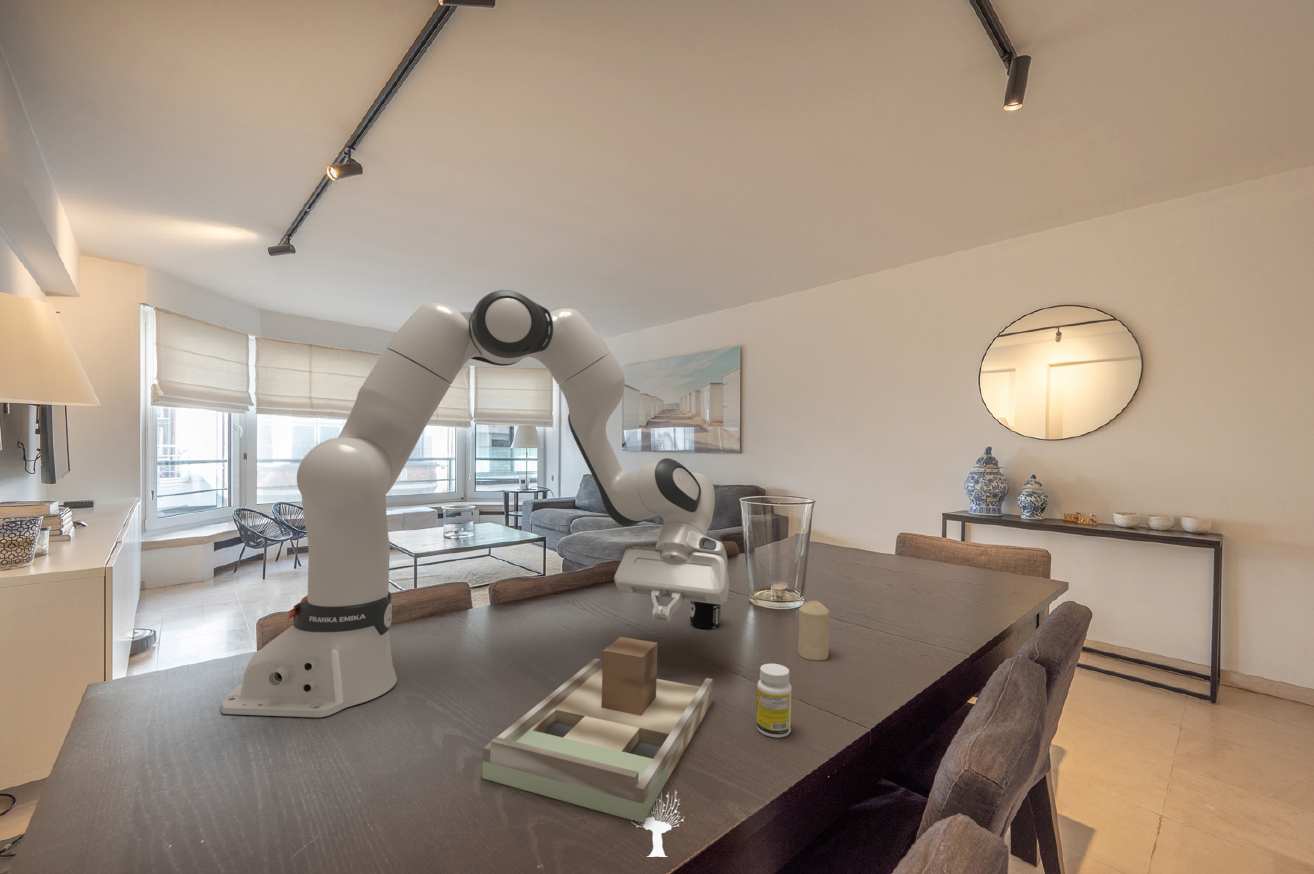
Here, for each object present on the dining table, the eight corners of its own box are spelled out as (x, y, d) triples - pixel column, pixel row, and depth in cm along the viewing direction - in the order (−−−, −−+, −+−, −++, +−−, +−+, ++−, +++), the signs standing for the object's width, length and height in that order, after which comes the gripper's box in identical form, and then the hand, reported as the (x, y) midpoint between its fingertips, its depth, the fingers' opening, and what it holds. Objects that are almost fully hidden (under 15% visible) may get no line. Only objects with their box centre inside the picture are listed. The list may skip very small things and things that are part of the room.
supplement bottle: (766, 717, 80) (767, 659, 80) (796, 728, 77) (798, 668, 77) (749, 730, 76) (751, 669, 76) (781, 742, 73) (782, 679, 74)
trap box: (594, 679, 91) (595, 652, 91) (712, 702, 84) (712, 672, 84) (482, 778, 64) (483, 739, 64) (642, 823, 57) (643, 779, 57)
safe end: (521, 743, 71) (522, 727, 72) (667, 779, 65) (668, 762, 65) (482, 778, 64) (482, 760, 64) (642, 823, 57) (643, 803, 57)
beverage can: (685, 621, 123) (687, 567, 123) (713, 619, 125) (714, 565, 125) (696, 630, 116) (698, 573, 116) (725, 628, 118) (726, 572, 118)
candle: (829, 662, 101) (831, 607, 101) (798, 659, 102) (800, 605, 102) (826, 651, 107) (827, 599, 107) (797, 648, 108) (798, 597, 108)
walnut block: (618, 689, 83) (620, 636, 83) (656, 697, 81) (657, 642, 81) (601, 707, 78) (602, 650, 78) (641, 715, 76) (642, 657, 76)
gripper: (623, 534, 103) (598, 600, 93) (731, 544, 96) (717, 616, 87) (631, 554, 107) (609, 619, 98) (736, 564, 100) (722, 636, 91)
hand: (660, 618), depth 92 cm, fingers closed
